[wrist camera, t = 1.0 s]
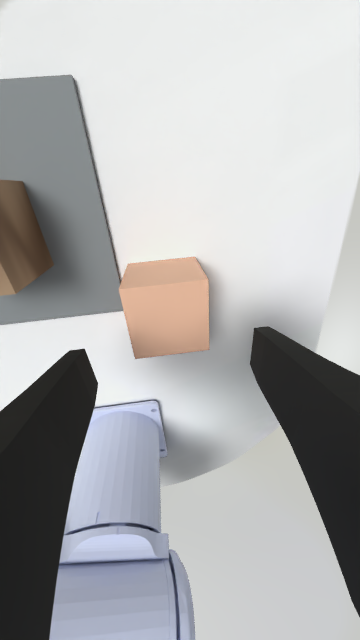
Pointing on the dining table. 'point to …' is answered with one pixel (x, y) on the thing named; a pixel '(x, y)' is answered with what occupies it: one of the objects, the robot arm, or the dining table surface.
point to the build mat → (57, 201)
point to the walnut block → (19, 240)
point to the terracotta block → (166, 307)
